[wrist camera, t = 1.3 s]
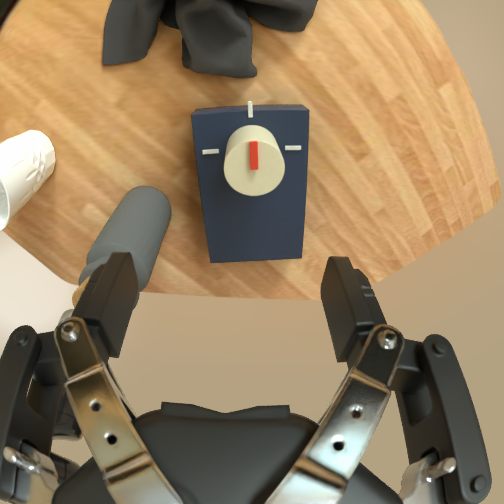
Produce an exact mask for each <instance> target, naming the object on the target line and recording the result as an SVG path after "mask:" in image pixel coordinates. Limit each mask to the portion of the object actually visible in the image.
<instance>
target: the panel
mask: <svg viewBox="0 0 504 504" xmlns="http://www.w3.org/2000/svg"><path fill="white" fill-rule="evenodd" d="M191 120H192V129H193V138H194V147H195V155H196V164H197V172H198V180H199V187H200V195H201V202H202V210H203V217H204V224H205V231H206V237H207V244H208V250H209V257H210V263H223V262H243V261H262V260H281V259H299V258H302V248H303V235H304V221H305V205H306V188H307V167H308V140H309V110H308V109H307V108H306V107H304V106H303V105H252V101H248V105H247V106H229V107H216V108H205V109H196V110H195V111H194V112H193V114H192V115H191ZM247 125H257V126H261V127H263V128H265V129H267V130H268V131H269V132H270V133H271V134H272V135H273V136H274V138H275V140H276V142H277V145H278V147H279V149H280V152H281V154H282V157H283V159H284V164H285V172H284V176H283V178H282V180H281V182H280V183H279V185H278V186H277V187H276V188H275V189H273V190H272V191H270V192H268V193H266V194H263V195H259V196H249V195H244V194H242V193H239V192H238V191H236V190H235V189H233V188H232V187H231V186H230V185H229V183H228V182H227V180H226V178H225V174H224V161H225V155H226V148H227V143H228V140H229V138H230V136H231V135H232V134H233V133H234V132H235V131H236V130H237V129H239V128H241V127H244V126H247Z"/></svg>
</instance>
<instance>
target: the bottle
mask: <svg viewBox="0 0 504 504" xmlns="http://www.w3.org/2000/svg"><path fill="white" fill-rule="evenodd" d="M170 217H171V206H170V203H169V201H168V199H167V198H166V196H165V195H164V194H163V193H162V192H160V191H159V190H157V189H155V188H152V187H148V186H141V187H136V188H134V189H132V190H131V191H129V192H128V193H127V194H126V196H125V197H124V198H123V200H122V201H121V202H120V204H119V205H118V207H117V208H116V210H115V211H114V213H113V214H112V216H111V217H110V218H109V220H108V221H107V223H106V225H105V226H104V228H103V229H102V231H101V232H100V234H99V236H98V237H97V239H96V240H95V242H94V244H93V245H92V247H91V249H90V251H89V253H88V256H87V266H86V267H85V268H84V270H83V271H82V273H81V275H80V278H79V287H78V288H77V290H76V291H75V292H74V294H73V297H72V301H73V305H74V308H75V307H76V305H77V303H78V300H79V298H80V296H81V294H82V292H83V290H84V288H85V286H86V284H87V283H88V280H89V278H90V276H91V274H92V272H93V271H94V270H95V269H96V268H97V267H98V266H99V265H100V264H106V263H107V261H108V259H109V257H110V255H111V253H112V252H130V253H131V254H132V258H133V262H134V266H135V270H136V274H137V278H138V284H139V289H138V295H137V298H136V301H135V304H134V307H133V309H134V308H135V306H136V304H137V302H138V299H139V292H141V291H142V290H143V289H144V288H145V287H146V285H147V284H148V281H149V278H150V276H151V273H152V270H153V267H154V264H155V261H156V258H157V255H158V252H159V249H160V246H161V243H162V241H163V238H164V235H165V232H166V229H167V227H168V224H169V221H170Z"/></svg>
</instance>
